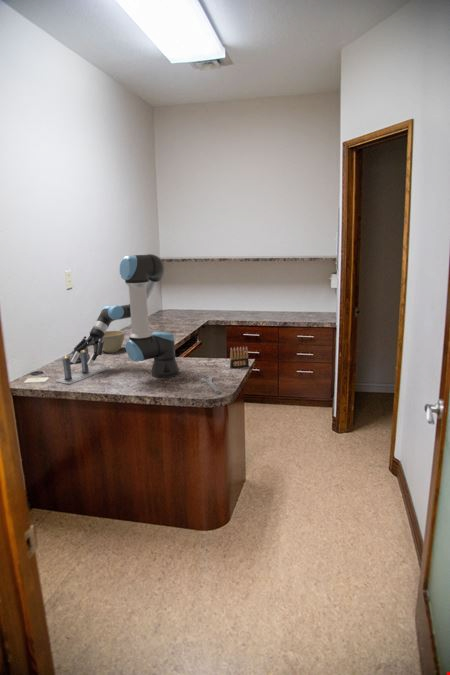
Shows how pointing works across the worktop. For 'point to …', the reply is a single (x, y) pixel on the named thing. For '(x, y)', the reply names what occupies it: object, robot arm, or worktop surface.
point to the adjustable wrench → (211, 384)
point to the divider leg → (84, 361)
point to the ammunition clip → (239, 358)
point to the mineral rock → (79, 355)
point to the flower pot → (112, 341)
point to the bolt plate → (79, 375)
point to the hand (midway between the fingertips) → (80, 363)
